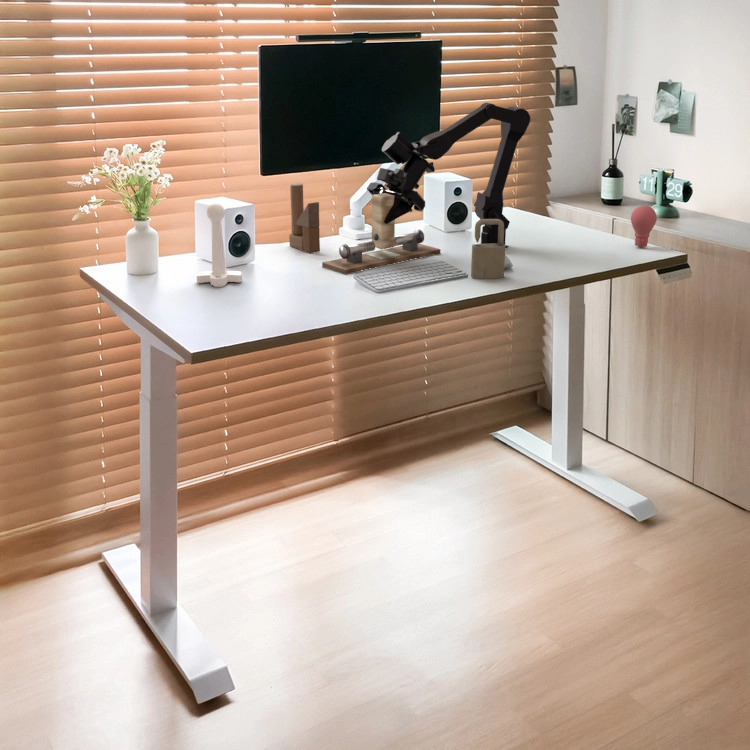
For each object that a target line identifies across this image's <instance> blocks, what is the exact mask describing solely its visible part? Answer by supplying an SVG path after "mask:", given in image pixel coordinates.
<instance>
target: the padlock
mask: <svg viewBox="0 0 750 750" xmlns="http://www.w3.org/2000/svg"><path fill="white" fill-rule="evenodd" d="M484 225H498V244H495V243H491V244H481V243H479V242H480V240H481V233H482V229H481V227H482V226H484ZM474 238H475V241H476V243H475V244H474V243H473V244H471V265H470V266H471V267H470V268H471V269H470V275H471V278H472V279H480V280H481V279H482V280H483V279H484V280H485V279H486V280H487V279H490V280H491V279H502V278H505V264H506V263H505V262H506V248H505V247H506V246H505V245H506V244H505V245H504V244H503V240H504V223H503V222H502V221H501V220H500V219H481V220H480V219H479V220H478V221H476V222H475V226H474Z"/></svg>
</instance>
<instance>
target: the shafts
mask: <svg viewBox="0 0 750 750" xmlns="http://www.w3.org/2000/svg"><path fill="white" fill-rule="evenodd" d="M424 241H425V234H424V231H422V230H421V229H415V230H414V231H413V232H411V233H405V234H401V235H397V236H395V247H399V246H403V250H407V251H410V252H412V251H417V250H418V243H419V244H423V243H424ZM375 250H376V247H375V244H374V242H373V241H372V240H371V241H367V242H360V243H356V244H351V245H348V244H347V243H343V244H340V246H339V249H338V253H339V255H340V257H341V258H343V259H347V261H348V262H351V263H354V264H356V263H361V262H362V254H365V253H370V252H375Z"/></svg>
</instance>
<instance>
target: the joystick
mask: <svg viewBox="0 0 750 750" xmlns="http://www.w3.org/2000/svg"><path fill="white" fill-rule="evenodd" d="M225 214H226V211H225V208H224V206H223V205H222V204H220V203H218V202H214V203H213V202H212V203H211V204H209V205H208V207H207V208H206V215H207V217H208V219H209V220H210V223H211V270H210V271H199V272H197V273H196V282H197V284H200V283H201V284H202V283H210V285H211V286H212V285H213V286H212V287H215V288H222V287H225V286H226V285H227V283H242V282H243V272H242V271H237V270H227V262H226V257H225V256H226V255H225V246H224V245H225V244H224V237H223V229H222V220H223V218H224V217H225Z"/></svg>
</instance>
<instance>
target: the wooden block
mask: <svg viewBox="0 0 750 750" xmlns="http://www.w3.org/2000/svg"><path fill="white" fill-rule="evenodd" d="M289 187H290V188H289V190H290V192H289V193H290V195H289V196H290V218H291V219H290V220H291V221H290V222H291V223H290V224H291V233H289V237H288V238H289V247H292V248H295V249H298V250H301V251H303V252H304V253H308V254H314V252H315V253H319V252H320V251H321V250H320V249H321V245H320V244H321V243H320V239H321V237H320V202H317V201H315V202H310V203H307V205H306V206H305V207H304V185H303V183H300V182H296V183H295V182H294V183H290V185H289Z"/></svg>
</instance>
